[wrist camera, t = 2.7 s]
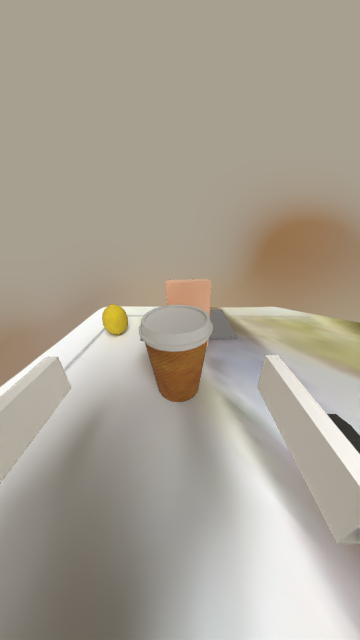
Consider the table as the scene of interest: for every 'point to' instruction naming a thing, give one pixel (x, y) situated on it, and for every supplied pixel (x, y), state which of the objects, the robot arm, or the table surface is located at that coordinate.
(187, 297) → the tile
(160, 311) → the disposable coffee cup
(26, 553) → the table surface
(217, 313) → the mat
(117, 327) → the lemon
